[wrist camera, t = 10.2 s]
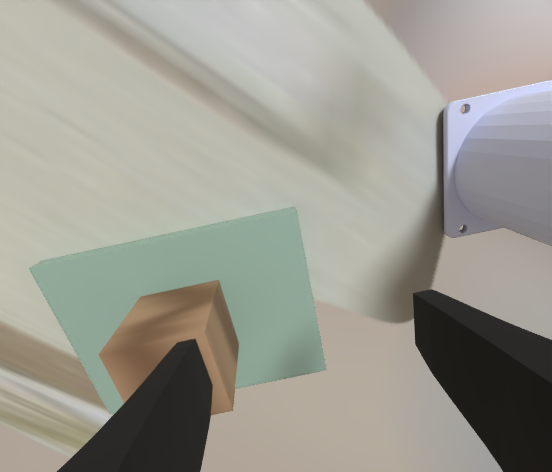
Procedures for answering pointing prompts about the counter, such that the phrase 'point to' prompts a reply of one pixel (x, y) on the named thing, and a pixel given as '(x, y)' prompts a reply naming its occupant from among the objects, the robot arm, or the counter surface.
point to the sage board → (190, 271)
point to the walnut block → (175, 339)
